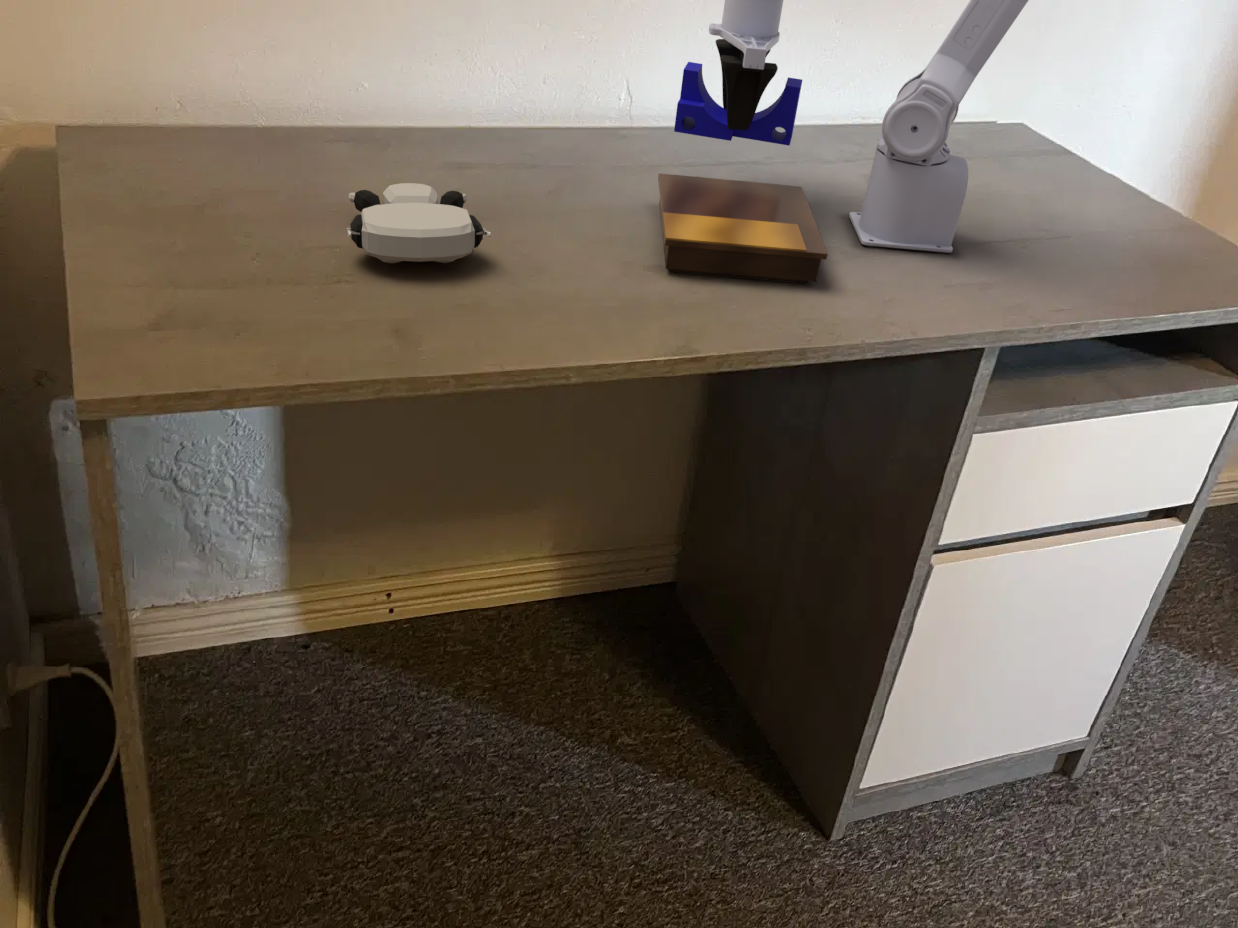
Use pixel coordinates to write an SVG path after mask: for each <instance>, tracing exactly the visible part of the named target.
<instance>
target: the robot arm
mask: <svg viewBox="0 0 1238 928" xmlns="http://www.w3.org/2000/svg"><path fill="white" fill-rule="evenodd" d="M1029 1H1030V0H969V1H968V3H967V5H966V6H965V8H964V9H963V11H962V12H961V14H960V16H959V17H958V18H957V20H956V22H955V23H954V25H953V26H952V28H951V29H950V31H949V32H948V33H947V35H946V37H945V39H944V40H943V41H942V43H941V45H940V46H939V47H938V49H937V50H936V52H935V53H934V55H933V56H932V57H931V59H930V61H929V62H928V64H927V65H926V67H925V68H924V69H923V70H922V71H921V72H920V73H918V74H917V75H915V76H913V77H912V78H910V79H909V80H907V81H906V82H905V83H904V84H903V85H902V86H901V88H900V89H899V91H898V93H897V95H896V98H895V100H894V102H893V103H892V104H891V105H890V106H889V107H888V109H887V110H886V112H885V114H884V116H883V119H882V123H881V135H882V136H881V137H879V138H878V139H877V142H876V147H875V151H874V156H873V161H872V165H871V170H870V174H869V178H868V182H867V186H866V191H865V195H864V199H863V204H862V208H861V212H858V211H851V212H849V214H848V217H849V219H850V222H851V223H852V224H851V225H852V226H853V228H854V231H855V233H856V235H857V237H858V239H859V241H860V243H861V244H862V245H863V246H869V247H878V248H890V249H902V250H913V251H923V252H924V251H925V252H935V253H947V254H951V253H952V252H953V250H954V248H953V246H952V245H953V240H954V237H955V233H956V230H957V228H958V223H959V220H960V216H961V214H962V213H961V212H962V209H963V206H964V202H965V198H966V194H967V190H968V185H969V184H968V183H969V167H968V162H967V160H966V158H965V157H964V156H961V155H953V154H951V150H950V148H949V147H948V144H947V139H948V137H949V132H950V128H951V126H952V125H953V123H954V121H955V120H956V118H957V116H958V112H959V108H960V104H961V102H962V101H963V100H964V98H965V96H966V95H967V93H968V91H969V90H970V88H971V86H972V84H973V83H974V81H975V80H976V78H977V76H978V75H979V73H980V72H981V71H982V69H983V67H984V66H985V65H986V63H987V61H988V60H989V59H990V57H991V56H992V55H993V53H994V52H995V50H996V49H997V47H998V46H999V44H1000V43H1001V42H1002V40H1003V38H1004V37H1005V35H1006V34H1007V32H1008V31H1009V30H1010V28H1011V27H1012V26H1013V24H1014V22H1015V21H1016V20H1017V18H1018V16H1019V15H1020V14H1021V12H1022V11H1023V10H1024V8H1025V7H1026V5H1027V4H1028V2H1029ZM783 6H784V0H724V5H723V11H722V18H721V23H714V22H713V23H709V25H708V26H709V27H708V32H709V35H711V36H718V37H720V38H718V39H715V45H716V48H717V51H718V54H719V61H720V64H721V65H720V66H721V79H722V85H721V86H722V108H724V109H726V110H727V124H728V129H734V130H745V131H747V130H748V129H749V127H750V125H751V122H752V120H753V117H754V114H755V113H757V109H758V106H759V104H760V101H761V98H762V97H763V94H764V92H765V91H766V89H767V87H768V85H769V84H770V82H771V81H772V79H773V78H774V77H775V76H776V74H777V72H778V65H777V63H773V62H766V59H767V56H768V55H769V54H770V52H771V49H772V48H773V47H774V46H776V45H777V44H778V43H779V41H780V36H781V35H780V34H781V32H779V29H780V23H781V18H782V17H781V16H782V12H783V11H782V10H783Z"/></svg>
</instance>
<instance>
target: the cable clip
mask: <svg viewBox="0 0 1238 928" xmlns="http://www.w3.org/2000/svg"><path fill="white" fill-rule="evenodd" d="M703 76H704V75H703V63H698V62H693V61H688V62H687V63H686V65H685V66H684V68H683V72H682V80H681V88H680V96H679V99H678V101H677V104H676V113H675V120H674V129H673V132H675V133H679V134H687V135H692V136H699V137H706V138H711V139H716V140H723V141H729V142H731V141H732V139H733V137H734V138H740V139H746V140H747V139H748V140H753V141H758V142H765V143H772V144H775V145H776V144H777V145H783V146H791V141H792V138H793V135H794V128H795V122H796V117H797V112H798V106H799V100H800V96H801V91H802V90H801V89H802V86H803V85H802V84H803V79H801V78H794V77H787V78H786V79H787V80H786V83H785V86H784V89H783V91H782V93H781V94H780V96H779V97H778V98H777V99H776V100H775V101H774V102H773V103H772V104H770V105H769V106H768V107H766V108H764V109H762V110H759V111H756V112H755V114H754V117H753V120H752V122H751V125H750V127H749V129H748V130H747V131H745V130H734V129H728V124H727V110H726V109H724V108H723V106H721V105H720V104H719V103H717V102H716V101H715V99H713V98H712V96H711V95H710V93H709V92H708V90H707V87H706V85H705V82H704V77H703ZM777 128H782V129H783V130H784V131H782V132H781V131H778V130H777Z"/></svg>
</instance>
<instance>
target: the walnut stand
mask: <svg viewBox="0 0 1238 928" xmlns="http://www.w3.org/2000/svg"><path fill="white" fill-rule="evenodd" d="M657 181H658V191H659V201H658V206H659V217H660V224H661V225H660V226H661V234H662V245H663V246H662V247H663V254H664V255H663V256H664V261H665V262H664V264H665V269H666V270H670V272H671V273H679V274H680V273H681V274H692V275H704V276H714V277H715V276H716V277H725V278H726V277H727V278H738V279H750V280H759V281H760V280H761V281H772V282H785V283H798V284H807V285H808V284H809V283H811V282H812V283H817V281H818V276H819V271H820V266H821V263H822V262H821V261H822V260H827V259H828V255H829V254H828V252H827V248H826V246H825V244H824V241H823V239H822V236H821V233H820V230H819V229H818V225H817V223H816V220H815V218H814V215H813V212H812V210H811V208H810V205H809V203H808V200H807V197H806V194H805V192H804V189H803V187H802V186H799V185H790V184H789V185H788V184H780V183H779V184H778V183H768V182H767V183H766V182H765V183H764V182H756V181H747V180H734V179H724V178H712V177H703V176H694V175H693V176H691V175H681V174H670V173H669V174H668V173H658V175H657Z"/></svg>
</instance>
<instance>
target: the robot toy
mask: <svg viewBox="0 0 1238 928" xmlns="http://www.w3.org/2000/svg"><path fill="white" fill-rule="evenodd" d="M438 195H439V194H438V192H437V191H436V190H435V189H434V188H433V186H431V185H429V184H424V183H414V182H413V183H412V182H405V183H404V182H403V183H401V182H399V183H395V184H391V185H388V186H387V187H386V189H384V191H383V192H382V203H381V200H380V196H379V195H378V194H376V193H375V192H372V191H371V190H367V189H359V190H358V191H356V192H349V193H348V196H347V197H348V199H349V201H350V202H351V203H353V204H354V207H355V210H356V211H358V212H360V214H356V216H354V218H353V220H352V221H351V222H350V227H346V235H347V237H348V238H350V240H351V241H352V242H353V243H354V244H355V245H356V247H357V248H358V249H363V252H364V253H365V255H366V256H367V255H368V256H370V257H373V258H376V259H378V260H380V261H381V262H383V263H388V264H397V263H401V262H417V263H418V262H419V263H420V262H421V263H422V262H423V263H424V262H437V263H442V264H447V263H452V262H454V261H455V260H457V259H462V258H464V257H467V256H469V255H472V253H473V250H474V249H476V248H479V246H480V245H481V242H482V241H483V239H484V237H483V236H486V237H487V238H491V237H492V235H491V234H492V232H491V231H487V228H486V227H483V226H482V224H481V223H480V221H479V220H478V219H477V218H476V216H475V215H473V214H469V211H468V209H466V208H463V207H464V205H465V204H466V202H467V200H468V196H467V194H466V193H463V192H459V191H458V190H449V191H446V192H445V193H444V194H443V195H441V197H440V201H439V203H438Z"/></svg>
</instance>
